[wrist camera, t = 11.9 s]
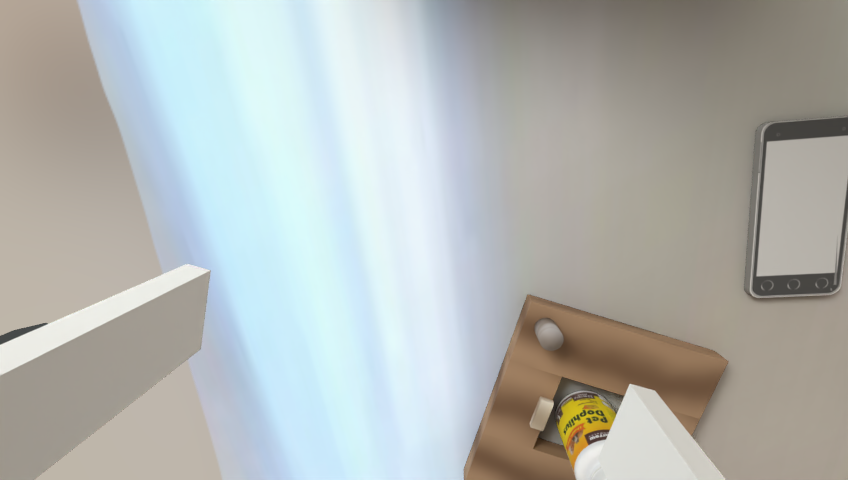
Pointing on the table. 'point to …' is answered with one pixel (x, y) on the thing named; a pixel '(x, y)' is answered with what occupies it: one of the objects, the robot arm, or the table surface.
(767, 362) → the table surface
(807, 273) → the smartphone
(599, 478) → the supplement bottle
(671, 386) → the wooden slotted board
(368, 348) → the table surface
